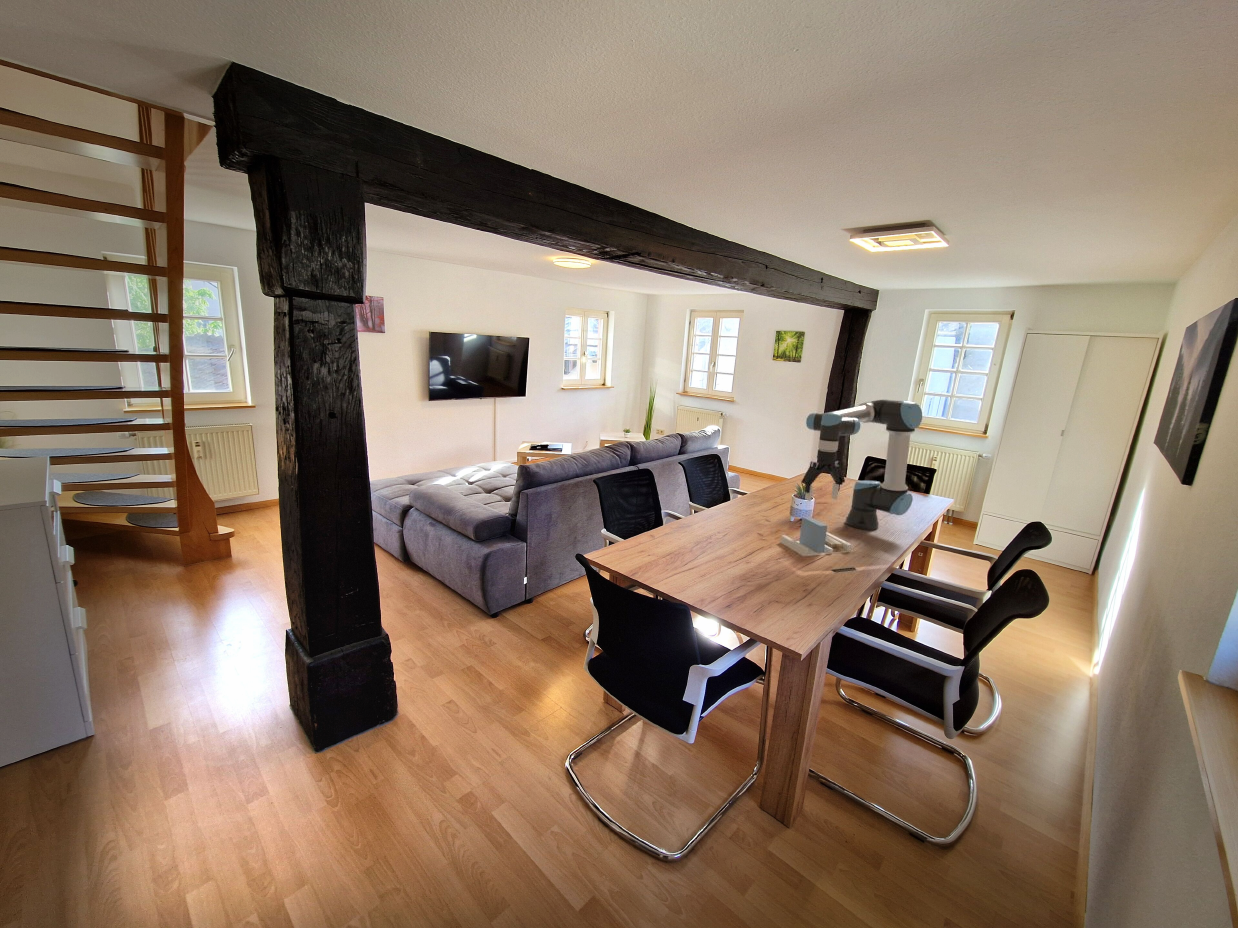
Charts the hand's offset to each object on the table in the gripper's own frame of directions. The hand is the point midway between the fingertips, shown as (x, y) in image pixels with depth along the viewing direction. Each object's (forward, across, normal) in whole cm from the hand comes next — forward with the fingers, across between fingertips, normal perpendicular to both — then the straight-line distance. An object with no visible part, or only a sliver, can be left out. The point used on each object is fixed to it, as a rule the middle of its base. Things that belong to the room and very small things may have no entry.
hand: (821, 499), depth 208 cm
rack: (+23, -1, -1) cm, 23 cm away
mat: (+23, +2, +14) cm, 27 cm away
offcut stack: (+22, -8, -1) cm, 23 cm away
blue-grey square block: (+22, +1, -1) cm, 22 cm away
